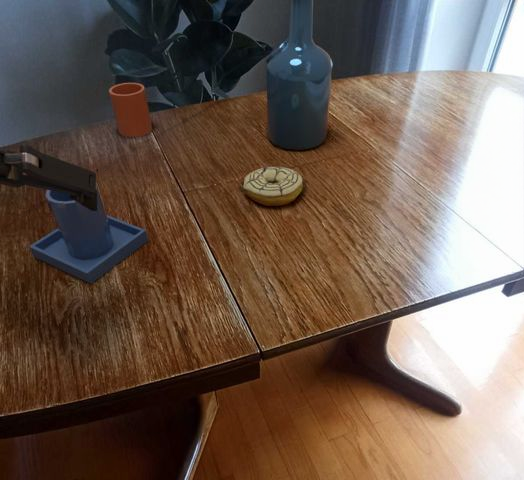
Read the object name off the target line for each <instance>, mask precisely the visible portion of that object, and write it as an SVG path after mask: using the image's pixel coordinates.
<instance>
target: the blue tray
mask: <svg viewBox="0 0 524 480" xmlns="http://www.w3.org/2000/svg"><path fill="white" fill-rule="evenodd" d="M106 216H107V219H108V223H109V226H110V229H111V233H112V236H113V240H114V245H113V247H112V249H111V250H110V251H109V252H108V253H106V254H105V255H103V256H100V257H98V258H94V259H88V260H82V259H77V258H74V257H72V256H71V255H70V254H69V252H68V250H67V248H66V246H65V243H64V241H63V239H62V236H61V234H60V231H59V229H58V228H56V229H55V230H53V231H51V232H50V233H48V234H46V235H45V236H43V237H42V238H40V239H39V240H37V241H35V242H34V243H32V244H30V245H29V246H28V248H29V250H30V252H31V254H32V256H33V258H35V259H36V260H40V261H42V262H43V263H46V264H48V265H50V266H52V267H54V268H56V269H58V270H60V271H63V272H64V273H66V274H69V275H71V276H73V277H75V278H77V279H80V280H82V281H84V282H86V283H88V284H90V285H92V284H93V283H94V282H95V281H97V280H98V279H99V278H101V277H103V276H104V275H105V274H106V273H108V272H109V271H110V270H112V269H113V268H114V267H116V266H117V265H119V264H120V263H121V262H123V260H125V259H126V258H127V257H130V255H132V254H133V253H134V252H135V251H137V250H139V248H141V247H142V246H144V245H145V244H146V243H148V241H149V236H148V232H147V230H146V229H144V228H142V227H139V226H138V225H137V226H136V225H134V224H133V223H132V224H131V223H129V222H126V221H124V220H122V219H118V218H116V217H113V216H111V215H108V214H106Z"/></svg>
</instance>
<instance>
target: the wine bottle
mask: <svg viewBox="0 0 524 480" xmlns="http://www.w3.org/2000/svg"><path fill="white" fill-rule="evenodd" d="M313 15H314V0H290V18H289V19H290V20H289V22H290V23H289V36H288V38H287V39H285V40H284V41H283V42H282V43H281V44H280V45H279V46H278V48H276V49H275V50H274V51H272V52H271V53H270V54H269V55H268V57H267V58H266V60H265V63H266V64H267V65H266V129H267V130H266V131H267V132H266V133H267V134H266V135H267V136H268V139H269V140H270V141H271V143H272V144H273V145H274V146H277V147H279V148H281V149H284V150H293V151H294V150H295V151H303V150H308V149H314V148H316V147H318V146H320V145H322V144H323V143H324V142H325V140H326V138H327V134H328V127H329V116H330V105H331V104H330V103H331V94H332V93H331V92H332V91H331V90H332V79H333V69H334V68H333V65H334V64H333V60H332V58H331V56H330V54H329V53H328V52H327V51H326V50H325V49H323V48H322V47H321V46H319V45H318V44H316V43H315V42H314V39H313V23H314V22H313V21H314V20H313V17H314V16H313Z"/></svg>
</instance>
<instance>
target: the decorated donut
mask: <svg viewBox="0 0 524 480" xmlns="http://www.w3.org/2000/svg"><path fill="white" fill-rule="evenodd" d="M242 187H243V190H245V194H246V196H247V197H248V198H250V199H251V200H252V201H254V202H256V203H257V204H261V205H262V206H267V207H275V206H276V207H279V206H284V205H289V204H290V203H291V202H294V201H295V200H296V199H297V197H298V196H299V195H300V194H301V192H302V191H303V177H302V175H301V174H300V173H299V172H297V171H295V169H292V168H289V167H283V166H265V167H261V168H259V169H258V168H257V169H256V170H254V171H251V172H249V173H248V174H247V175H246V176H245V177H244V179H243V186H242Z"/></svg>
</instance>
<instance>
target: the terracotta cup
mask: <svg viewBox="0 0 524 480" xmlns="http://www.w3.org/2000/svg"><path fill="white" fill-rule="evenodd" d="M108 93H109V98H110V102H111V106H112V110H113V115H114V118H115V122H116V127H117V130H118V134H120V135H121V136H123V137H127V138H139V137H143V136H146V135H147V134H149V133H151V132H152V131H153V125H152V124H153V123H152V120H151V119H152V118H151V114H150V108H149V105H148V99H147V93H146V87H145V86H144V85H143V84H142V83H138V82H124V83H119V84H118V83H117V84H115V85H113V86H111V87H110V88H109V89H108ZM152 138H153V137H151V138H149V139H147V140H146V141H144V143H146V142H148V141H150V140H152Z"/></svg>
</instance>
